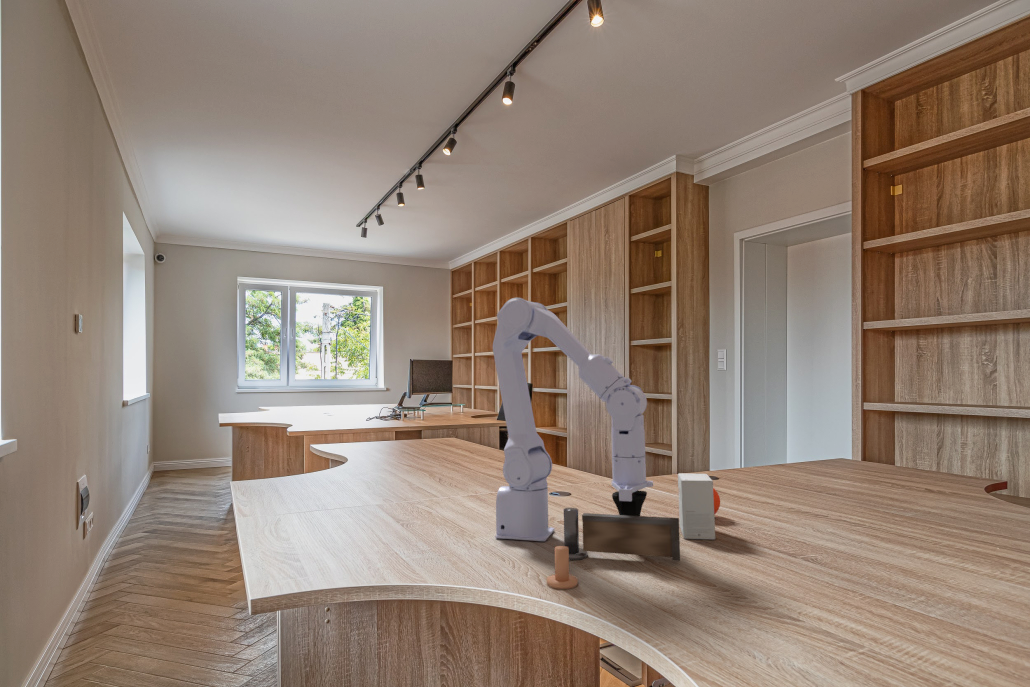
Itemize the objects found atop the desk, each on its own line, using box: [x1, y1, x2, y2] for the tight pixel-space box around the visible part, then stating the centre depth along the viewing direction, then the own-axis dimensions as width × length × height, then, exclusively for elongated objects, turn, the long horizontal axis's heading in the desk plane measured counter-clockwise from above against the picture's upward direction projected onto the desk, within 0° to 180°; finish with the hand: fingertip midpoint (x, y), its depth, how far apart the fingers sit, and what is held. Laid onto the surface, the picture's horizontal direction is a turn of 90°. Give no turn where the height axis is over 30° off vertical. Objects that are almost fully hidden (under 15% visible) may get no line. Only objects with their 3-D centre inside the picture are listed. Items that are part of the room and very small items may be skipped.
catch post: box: [546, 545, 579, 590], centre depth 82 cm, size 4×4×5 cm
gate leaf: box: [581, 512, 681, 562], centre depth 92 cm, size 15×2×6 cm, turn 73°
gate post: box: [563, 507, 588, 561], centre depth 95 cm, size 5×5×8 cm
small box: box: [677, 472, 716, 540], centre depth 106 cm, size 8×6×10 cm
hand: (630, 535), depth 99 cm, fingers closed
